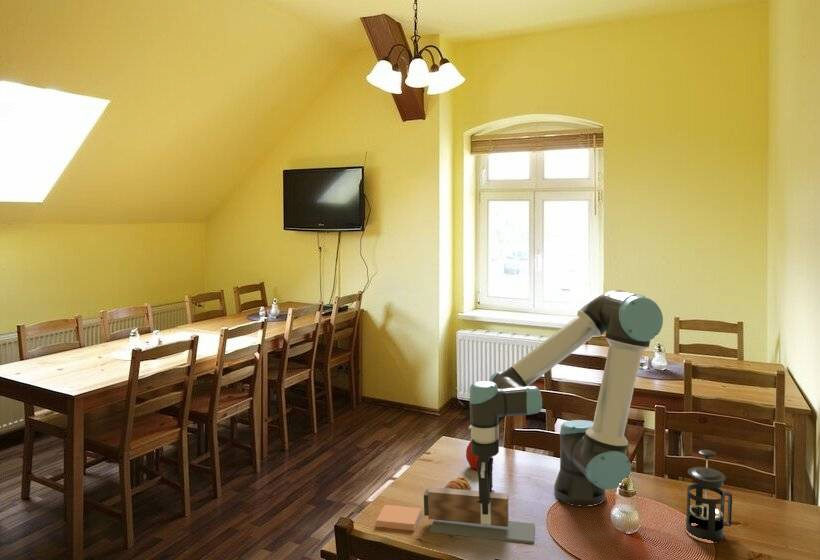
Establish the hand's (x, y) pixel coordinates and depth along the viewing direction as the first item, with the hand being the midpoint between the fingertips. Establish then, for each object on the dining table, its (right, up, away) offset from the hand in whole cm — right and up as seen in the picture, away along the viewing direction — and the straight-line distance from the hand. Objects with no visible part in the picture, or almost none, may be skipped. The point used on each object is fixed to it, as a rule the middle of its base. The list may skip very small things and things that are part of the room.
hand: (486, 520), depth 161 cm
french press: (+58, -2, -5) cm, 59 cm away
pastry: (-6, -1, +22) cm, 23 cm away
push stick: (-5, -1, +1) cm, 5 cm away
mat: (-1, -3, 0) cm, 3 cm away
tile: (-19, -2, +4) cm, 20 cm away
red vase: (+2, +2, +39) cm, 39 cm away
